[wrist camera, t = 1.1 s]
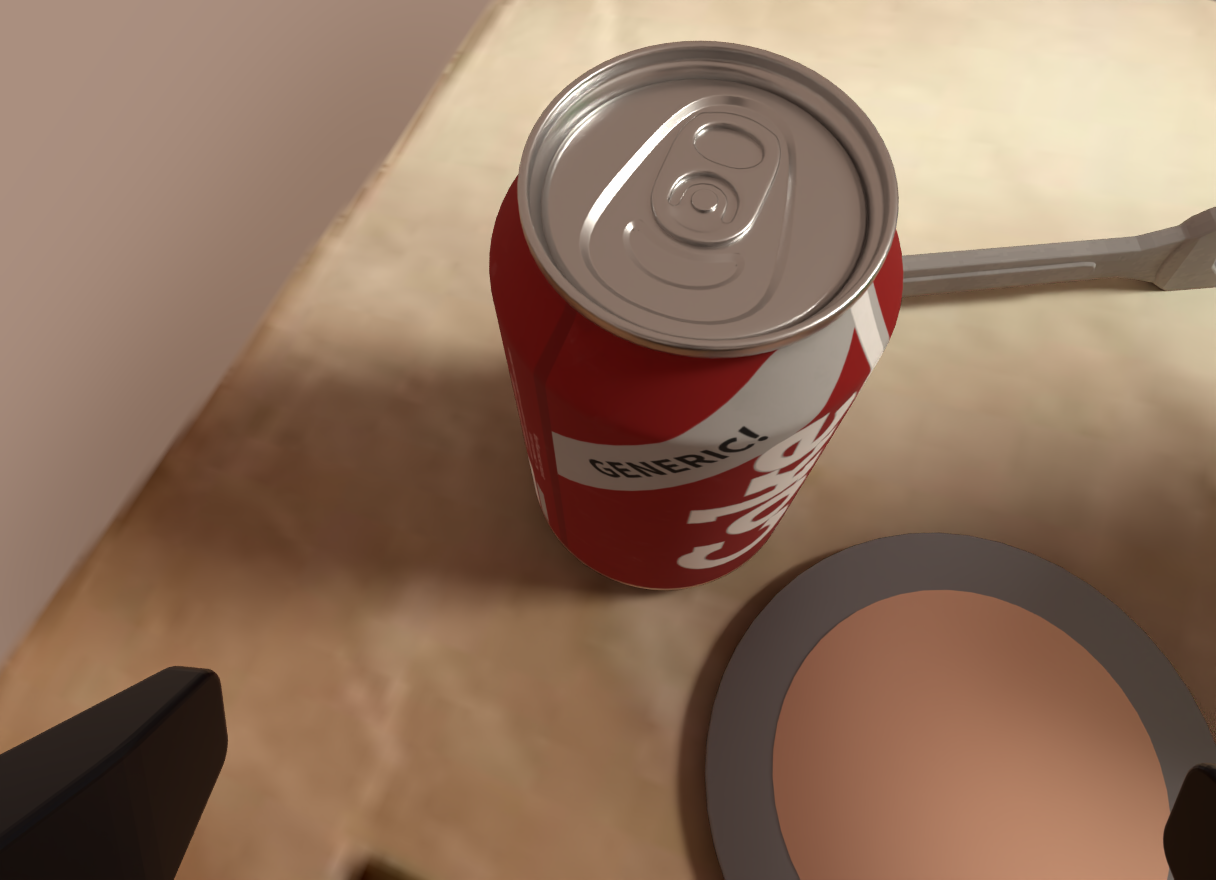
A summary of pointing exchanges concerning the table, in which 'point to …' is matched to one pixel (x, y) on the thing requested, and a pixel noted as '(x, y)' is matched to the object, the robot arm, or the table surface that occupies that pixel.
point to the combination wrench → (1075, 262)
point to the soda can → (691, 300)
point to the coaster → (946, 724)
